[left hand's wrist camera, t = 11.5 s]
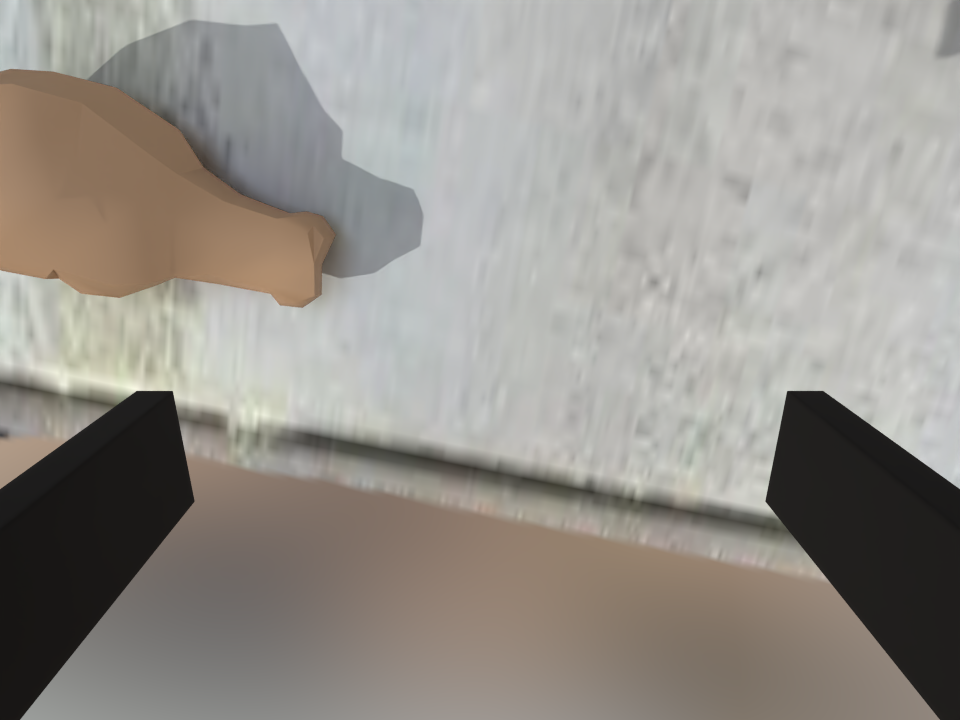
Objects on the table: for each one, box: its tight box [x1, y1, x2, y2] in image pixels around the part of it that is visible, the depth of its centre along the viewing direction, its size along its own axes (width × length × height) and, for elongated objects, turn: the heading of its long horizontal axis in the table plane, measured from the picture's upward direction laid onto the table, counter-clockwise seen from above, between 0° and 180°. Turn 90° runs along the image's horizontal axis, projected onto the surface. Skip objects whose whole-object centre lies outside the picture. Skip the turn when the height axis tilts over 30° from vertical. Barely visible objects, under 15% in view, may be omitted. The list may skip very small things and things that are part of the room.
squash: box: [0, 69, 336, 308], centre depth 31 cm, size 11×20×9 cm, turn 73°
